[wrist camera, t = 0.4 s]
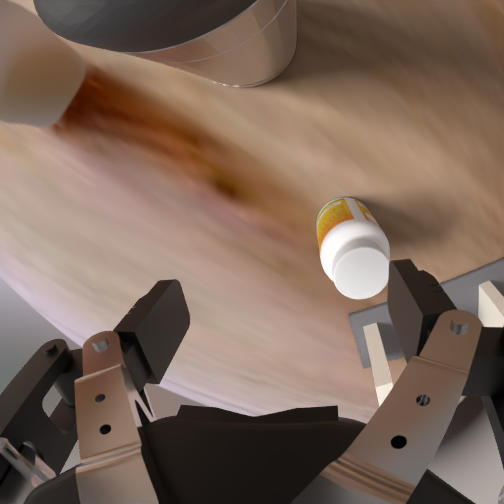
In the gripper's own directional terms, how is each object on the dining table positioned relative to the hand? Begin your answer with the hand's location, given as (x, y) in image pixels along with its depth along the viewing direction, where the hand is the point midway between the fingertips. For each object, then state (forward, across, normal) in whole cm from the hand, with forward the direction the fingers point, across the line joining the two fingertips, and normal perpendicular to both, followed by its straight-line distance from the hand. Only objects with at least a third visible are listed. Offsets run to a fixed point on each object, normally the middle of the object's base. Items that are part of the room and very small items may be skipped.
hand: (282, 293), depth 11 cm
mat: (+18, -17, +16) cm, 30 cm away
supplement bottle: (+18, -4, +4) cm, 19 cm away
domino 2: (+18, -22, +14) cm, 32 cm away
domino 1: (+18, -8, +18) cm, 26 cm away
